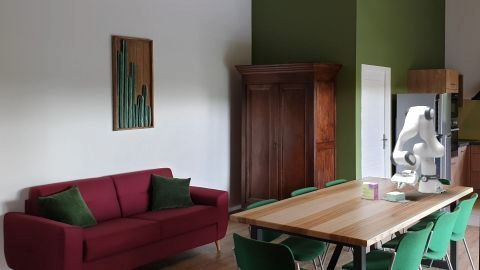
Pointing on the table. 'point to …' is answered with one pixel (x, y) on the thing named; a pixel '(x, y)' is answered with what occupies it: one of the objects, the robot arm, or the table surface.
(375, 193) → the box
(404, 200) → the mat
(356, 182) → the table surface
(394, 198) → the block
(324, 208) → the table surface
